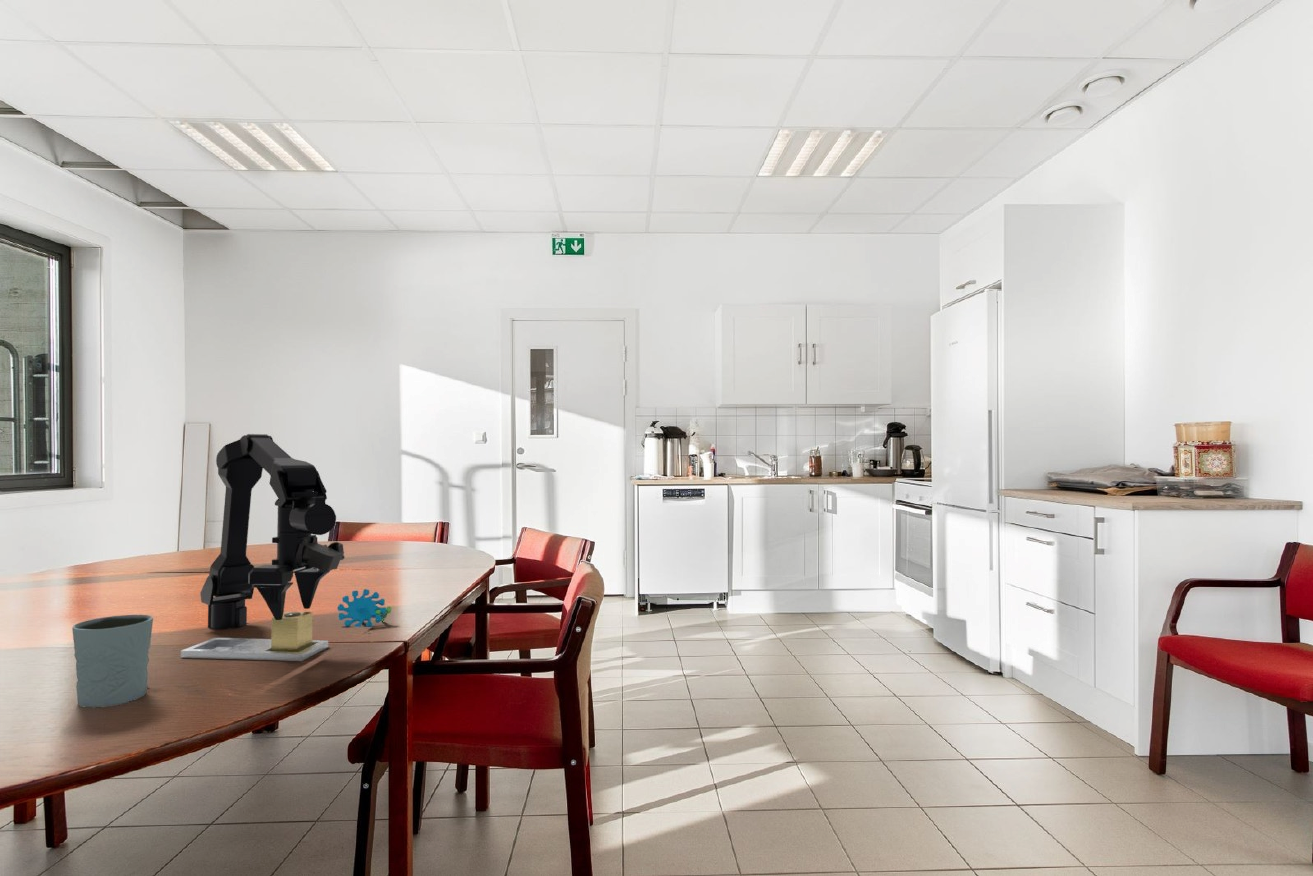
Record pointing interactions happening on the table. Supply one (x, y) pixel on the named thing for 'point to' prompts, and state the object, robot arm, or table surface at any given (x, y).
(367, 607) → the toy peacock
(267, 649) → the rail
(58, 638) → the table surface
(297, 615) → the block
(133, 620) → the embossed vase
